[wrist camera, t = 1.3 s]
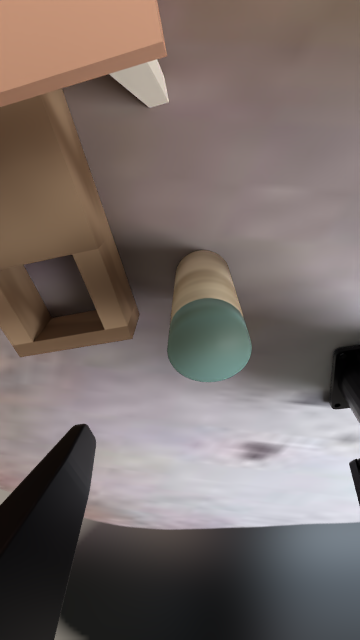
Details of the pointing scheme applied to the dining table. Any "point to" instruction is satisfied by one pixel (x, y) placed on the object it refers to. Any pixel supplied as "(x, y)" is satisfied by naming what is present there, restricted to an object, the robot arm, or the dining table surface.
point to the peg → (206, 320)
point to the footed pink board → (80, 47)
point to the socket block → (54, 232)
